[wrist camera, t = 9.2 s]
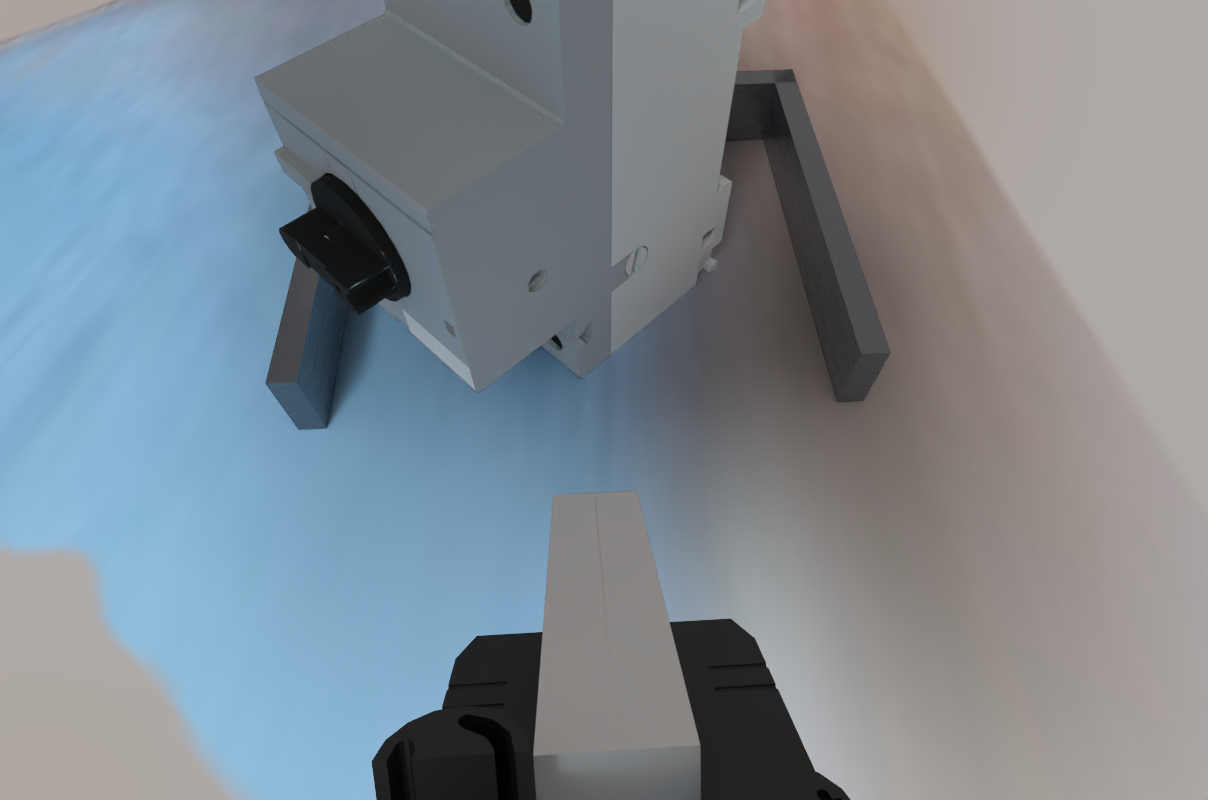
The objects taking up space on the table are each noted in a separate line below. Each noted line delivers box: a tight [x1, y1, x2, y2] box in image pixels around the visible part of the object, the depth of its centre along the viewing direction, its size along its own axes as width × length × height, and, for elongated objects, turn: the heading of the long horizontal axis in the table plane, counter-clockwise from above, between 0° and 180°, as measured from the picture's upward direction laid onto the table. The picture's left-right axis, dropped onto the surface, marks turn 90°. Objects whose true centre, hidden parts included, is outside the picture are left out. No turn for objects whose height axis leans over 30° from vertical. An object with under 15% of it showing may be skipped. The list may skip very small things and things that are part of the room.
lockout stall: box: [266, 69, 890, 430], centre depth 29 cm, size 17×21×3 cm
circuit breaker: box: [254, 0, 766, 393], centre depth 23 cm, size 8×14×15 cm, turn 135°
